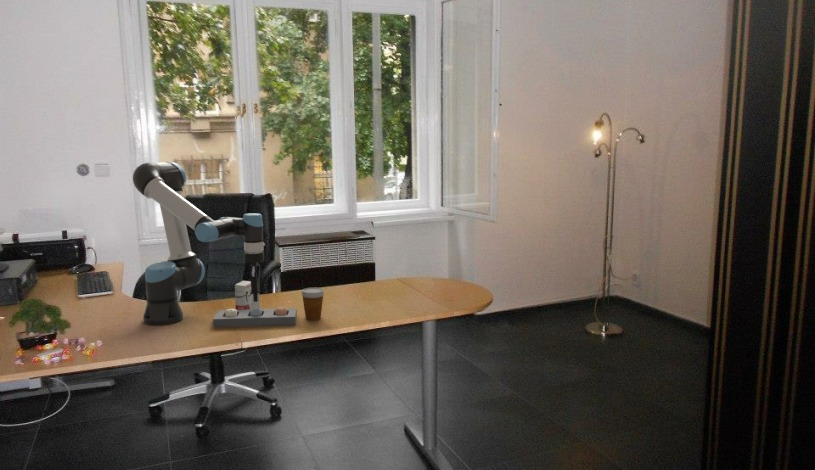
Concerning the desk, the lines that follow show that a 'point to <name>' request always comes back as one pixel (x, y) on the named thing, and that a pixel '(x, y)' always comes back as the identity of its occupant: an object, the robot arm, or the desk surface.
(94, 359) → the desk surface
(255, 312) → the slate button
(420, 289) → the desk surface
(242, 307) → the ink box
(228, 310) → the cream button
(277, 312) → the pink rounded piece
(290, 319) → the button panel
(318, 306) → the disposable coffee cup
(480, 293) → the desk surface
